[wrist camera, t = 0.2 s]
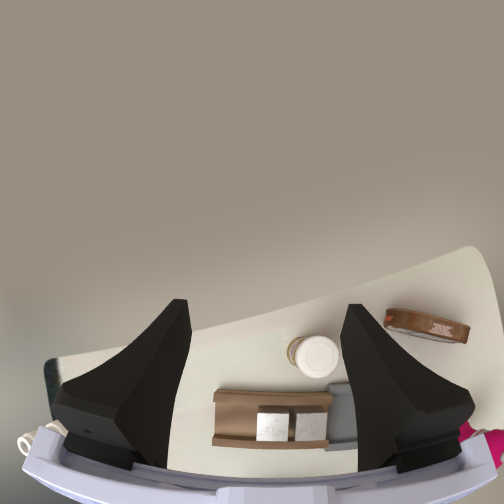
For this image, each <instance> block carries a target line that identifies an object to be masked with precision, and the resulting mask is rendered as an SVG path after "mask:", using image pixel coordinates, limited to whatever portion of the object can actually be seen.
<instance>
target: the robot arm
mask: <svg viewBox="0 0 504 504" xmlns="http://www.w3.org/2000/svg"><path fill="white" fill-rule="evenodd" d="M191 336H192V329H191V324H190V317H189V310H188V303H187V300H184V299H173V300H172V301H171V302H170V304H169V305H168V306H167V307H166V308H165V309H164V310H163V312H162V313H161V314H160V315H159V316H158V317H157V318H156V319H155V320H154V321H153V322H152V323H151V325H150V326H149V327H148V328H147V329H146V330H145V331H144V332H143V333H141V334H140V335H139V336H138V337H137V338H136V339H135V340H134V341H133V342H132V343H131V344H129V345H128V346H127V347H126V348H125V349H123V350H122V351H121V352H120V353H118V354H117V355H115V356H114V357H112V358H111V359H109V360H108V361H106V362H105V363H103V364H102V365H100V366H98V367H96V368H95V369H93V370H91V371H89V372H87V373H85V374H83V375H81V376H79V377H76V378H74V379H72V380H69V381H67V382H64V383H63V384H62V385H61V387H60V389H59V391H58V393H57V395H56V397H55V399H54V401H53V403H52V406H51V410H52V413H53V414H54V416H55V417H56V418H57V419H58V421H59V422H60V423H61V424H62V425H63V426H64V427H65V428H66V430H67V431H68V433H67V436H66V437H65V436H64V435H62V434H60V433H58V432H56V431H53V430H51V429H49V428H46V427H44V426H39V429H38V431H37V433H36V435H35V438H34V440H33V442H32V445H31V447H30V450H29V452H28V454H27V457H26V460H25V462H24V464H23V467H22V469H23V471H25V472H26V473H28V474H29V475H30V476H32V477H33V478H35V479H36V480H38V481H39V482H41V483H42V484H44V485H46V486H47V487H49V488H50V489H52V490H54V491H56V492H58V493H60V494H62V495H65V496H67V497H69V498H71V499H74V500H76V501H78V502H81V503H83V504H449V503H451V502H454V501H456V500H458V499H461V498H463V497H465V496H467V495H469V494H470V493H472V492H474V491H476V490H477V489H479V488H481V487H482V486H484V485H485V484H487V483H488V482H490V481H491V480H493V479H495V478H496V477H497V476H498V474H497V471H496V467H495V464H494V461H493V458H492V455H491V452H490V449H489V447H488V444H487V441H486V438H485V436H484V434H483V433H481V434H479V435H476V436H474V437H471V438H468V439H466V440H464V441H462V442H461V443H459V440H458V437H460V436H461V433H460V430H459V428H460V427H461V426H462V425H463V424H464V423H465V422H466V421H467V420H468V419H469V418H470V416H471V415H472V414H473V412H474V410H475V404H474V402H473V400H472V397H471V395H470V393H469V391H468V390H467V389H465V388H462V387H460V386H458V385H456V384H454V383H452V382H450V381H448V380H446V379H444V378H442V377H441V376H439V375H437V374H436V373H434V372H433V371H431V370H430V369H428V368H427V367H425V366H424V365H422V364H421V363H420V362H418V361H417V360H416V359H415V358H413V357H412V356H411V355H410V354H409V353H407V352H406V351H405V350H404V349H403V348H402V347H401V346H400V345H399V344H398V343H397V342H396V341H395V340H394V339H393V338H392V337H391V336H390V335H389V334H388V333H387V332H386V331H385V330H384V329H383V328H382V327H381V326H380V324H379V323H378V322H377V321H376V320H375V319H374V318H373V317H372V315H371V314H370V313H369V312H368V311H367V310H366V309H365V307H364V306H363V305H362V304H349V305H348V309H347V313H346V317H345V321H344V324H343V328H342V331H341V335H340V340H341V348H342V355H343V359H344V363H345V367H346V371H347V375H348V379H349V382H350V386H351V390H352V394H353V399H354V406H355V414H356V425H357V440H358V472H356V473H349V474H341V475H332V476H322V477H308V478H281V479H264V478H237V477H223V476H212V475H203V474H195V473H187V472H181V471H175V470H169V469H167V458H168V446H169V437H170V429H171V422H172V415H173V409H174V403H175V397H176V393H177V389H178V386H179V383H180V380H181V376H182V373H183V370H184V366H185V363H186V360H187V356H188V353H189V348H190V342H191Z"/></svg>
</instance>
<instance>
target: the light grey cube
mask: <svg viewBox="0 0 504 504" xmlns="http://www.w3.org/2000/svg"><path fill="white" fill-rule="evenodd" d="M326 426H327V412H326V411H325V410H324V409H323V407H294V413H293V429H292V434H293V436H294V439H295V441H316V440H325V437H326Z"/></svg>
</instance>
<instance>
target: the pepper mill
mask: <svg viewBox="0 0 504 504" xmlns="http://www.w3.org/2000/svg"><path fill="white" fill-rule="evenodd" d="M459 430H460V433H461V436H460V437H458V440H459V443H461V442H462V441H464V440H466V439H468V438H471V437H474V436H476V435H479V434H481V433H483V434H484V436H485V438H486V441H487V444H488V447H489V449H490V452H491V455H492V458H493V461H494V464H495V467H496V469H497V468H498V467H499V466H500V465H501V464H502V463H504V431H503V430H499V429H495V430H491V431H489V430H485V429H480V430H478V431H477V430H474V429H473V428H471V427H470V425H469V423H468V421H466V422H465V423H464V424H463V425H462V426H461V427H460V428H459Z"/></svg>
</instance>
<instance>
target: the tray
mask: <svg viewBox="0 0 504 504" xmlns="http://www.w3.org/2000/svg"><path fill="white" fill-rule="evenodd" d="M327 392H328V393H330V394H331V395H332V404H329V407H328V421H327V433H326V436H327V438H328V439H329V445H328V448H324V450H325V452H326V451H339V450H349V449H358V440H357V425H356V414H355V406H354V399H353V394H352V390H351V386H350V383H339V384H328V386H327Z"/></svg>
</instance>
